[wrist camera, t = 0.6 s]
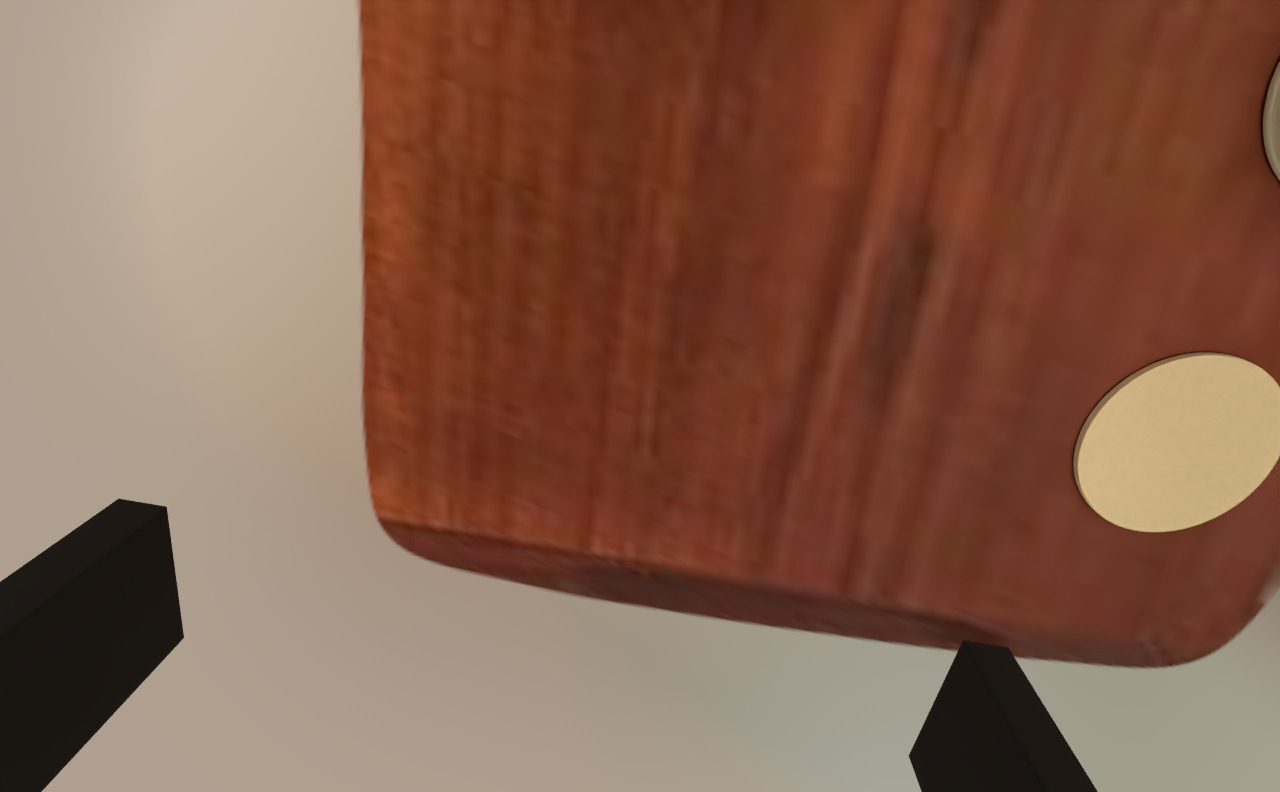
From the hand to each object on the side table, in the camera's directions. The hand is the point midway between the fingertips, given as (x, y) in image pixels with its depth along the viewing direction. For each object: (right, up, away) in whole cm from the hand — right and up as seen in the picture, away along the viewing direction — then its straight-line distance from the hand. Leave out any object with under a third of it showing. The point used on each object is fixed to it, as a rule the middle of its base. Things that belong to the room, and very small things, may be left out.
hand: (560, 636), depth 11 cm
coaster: (+26, +2, +20) cm, 33 cm away
